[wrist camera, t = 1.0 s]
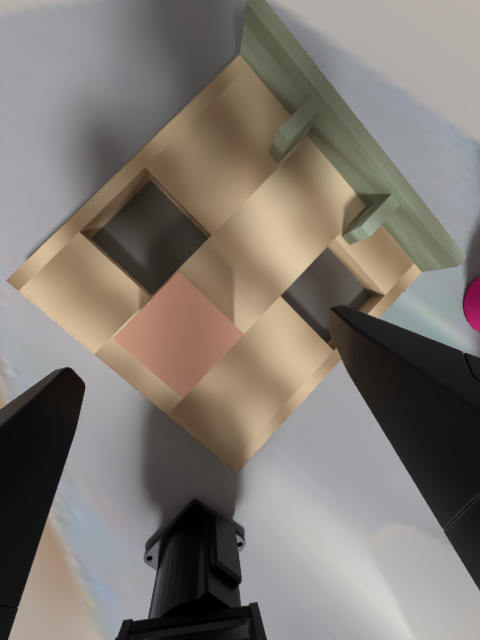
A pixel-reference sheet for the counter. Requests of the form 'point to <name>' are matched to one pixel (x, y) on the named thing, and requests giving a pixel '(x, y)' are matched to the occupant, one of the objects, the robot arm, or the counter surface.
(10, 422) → the robot arm
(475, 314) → the pepper mill
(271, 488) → the counter surface
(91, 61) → the counter surface
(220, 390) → the board
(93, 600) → the counter surface
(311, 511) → the counter surface
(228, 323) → the block
